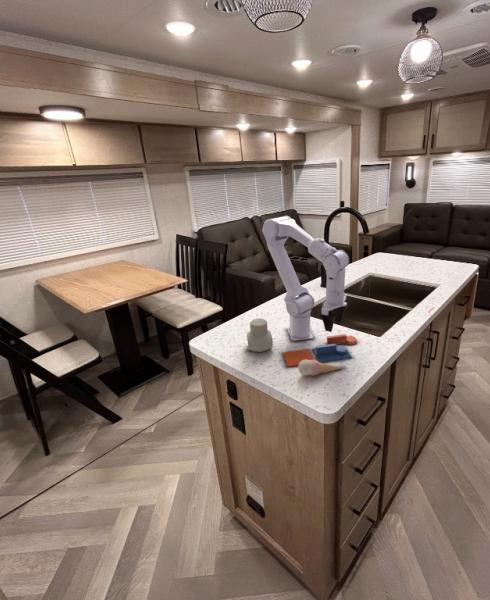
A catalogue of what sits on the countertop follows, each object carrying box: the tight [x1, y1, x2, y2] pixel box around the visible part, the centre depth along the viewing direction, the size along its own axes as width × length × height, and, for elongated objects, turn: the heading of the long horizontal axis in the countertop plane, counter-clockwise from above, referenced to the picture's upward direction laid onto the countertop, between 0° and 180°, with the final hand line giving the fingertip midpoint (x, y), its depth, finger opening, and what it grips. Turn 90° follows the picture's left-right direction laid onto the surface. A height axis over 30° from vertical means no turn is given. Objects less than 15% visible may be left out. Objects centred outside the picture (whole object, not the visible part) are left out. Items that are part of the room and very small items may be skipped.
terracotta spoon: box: [326, 333, 357, 345], centre depth 114 cm, size 11×4×3 cm, turn 102°
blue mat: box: [312, 344, 352, 363], centre depth 108 cm, size 8×11×1 cm
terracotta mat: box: [282, 348, 315, 368], centre depth 106 cm, size 8×9×1 cm
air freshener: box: [246, 318, 274, 353], centre depth 111 cm, size 11×8×10 cm
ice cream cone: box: [297, 359, 343, 376], centre depth 98 cm, size 5×5×15 cm
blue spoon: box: [314, 344, 348, 357], centre depth 107 cm, size 11×4×3 cm, turn 102°
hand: (333, 326), depth 108 cm, fingers open, 7 cm apart
